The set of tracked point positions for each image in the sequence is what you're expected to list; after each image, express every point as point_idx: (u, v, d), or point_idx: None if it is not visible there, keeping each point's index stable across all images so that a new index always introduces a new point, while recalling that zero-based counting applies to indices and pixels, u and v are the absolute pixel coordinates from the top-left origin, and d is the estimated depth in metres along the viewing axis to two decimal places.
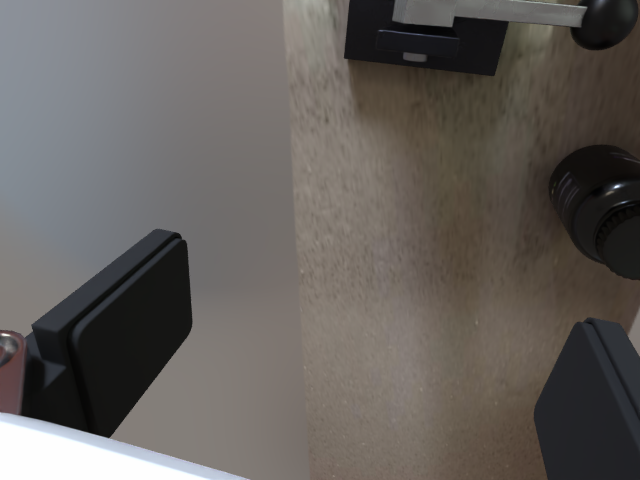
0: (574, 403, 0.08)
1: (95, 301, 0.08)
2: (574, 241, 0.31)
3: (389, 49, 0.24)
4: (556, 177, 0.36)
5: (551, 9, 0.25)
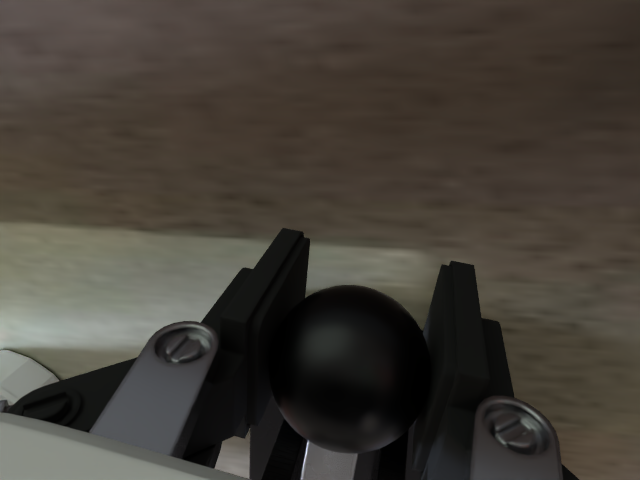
0: (431, 331, 0.10)
1: (262, 295, 0.09)
2: None
3: None
4: None
5: None
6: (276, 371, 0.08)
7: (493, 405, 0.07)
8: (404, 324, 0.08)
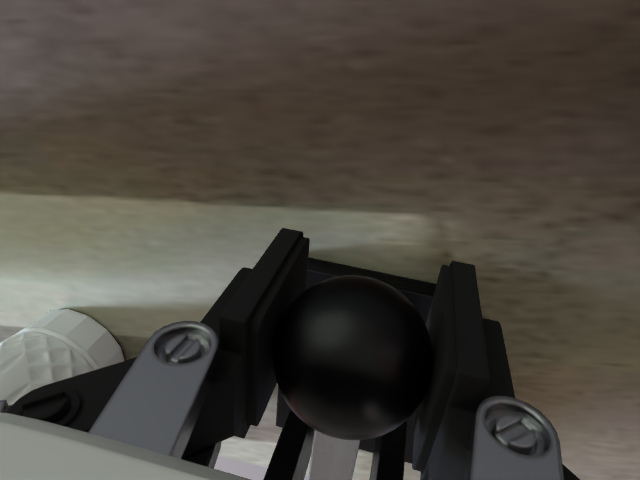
0: (432, 331, 0.10)
1: (261, 295, 0.09)
2: None
3: None
4: None
5: (321, 471, 0.11)
6: (278, 377, 0.09)
7: (494, 405, 0.07)
8: (403, 335, 0.08)
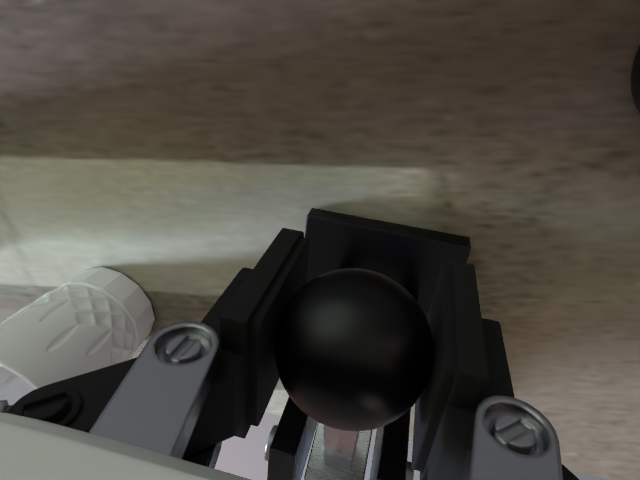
0: (431, 330, 0.10)
1: (262, 295, 0.09)
2: None
3: None
4: None
5: None
6: (281, 379, 0.09)
7: (493, 405, 0.07)
8: (400, 352, 0.08)
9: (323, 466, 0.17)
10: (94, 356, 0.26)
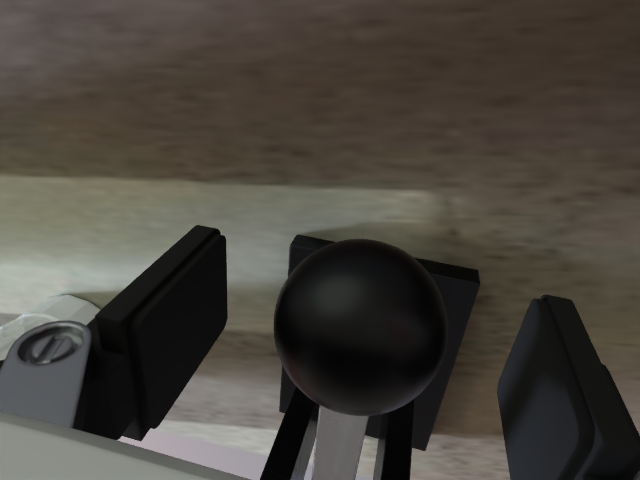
0: (527, 373, 0.09)
1: (150, 293, 0.08)
2: None
3: None
4: None
5: (327, 448, 0.10)
6: (280, 348, 0.08)
7: None
8: (417, 301, 0.07)
9: None
10: None
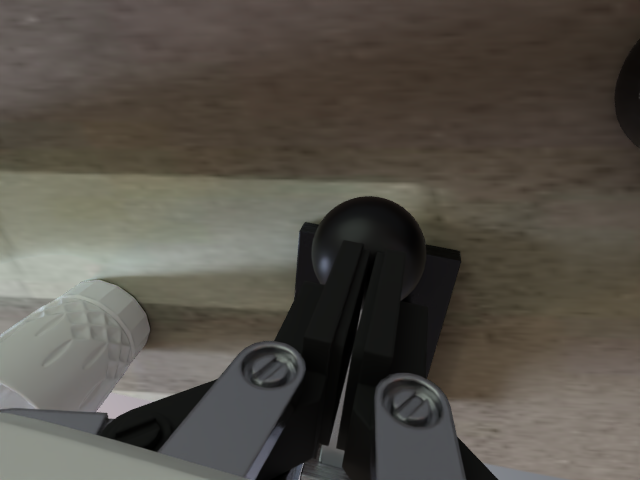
0: None
1: (339, 312, 0.08)
2: None
3: None
4: None
5: None
6: (318, 262, 0.12)
7: (395, 381, 0.07)
8: (406, 227, 0.12)
9: (319, 466, 0.17)
10: (90, 370, 0.26)
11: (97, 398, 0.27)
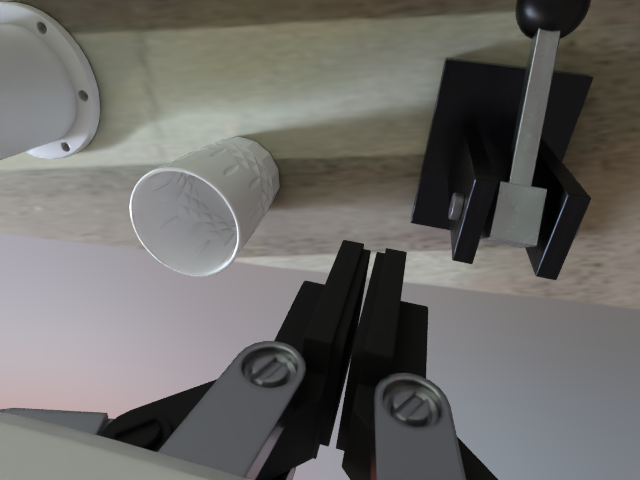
0: None
1: (339, 312, 0.08)
2: None
3: (560, 267, 0.21)
4: None
5: (537, 71, 0.22)
6: None
7: (395, 382, 0.07)
8: None
9: None
10: (253, 191, 0.30)
11: (256, 219, 0.31)
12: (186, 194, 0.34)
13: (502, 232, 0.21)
